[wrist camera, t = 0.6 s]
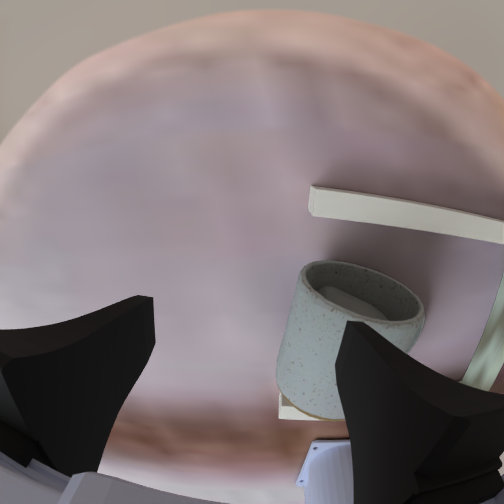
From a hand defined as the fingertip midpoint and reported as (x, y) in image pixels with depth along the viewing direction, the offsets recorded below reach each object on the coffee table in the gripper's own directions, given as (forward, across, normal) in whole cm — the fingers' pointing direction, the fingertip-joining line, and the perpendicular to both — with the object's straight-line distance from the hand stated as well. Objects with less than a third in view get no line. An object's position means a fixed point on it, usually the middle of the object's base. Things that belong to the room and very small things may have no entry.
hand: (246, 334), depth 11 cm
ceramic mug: (+10, -7, +4) cm, 13 cm away
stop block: (+10, -22, +3) cm, 24 cm away
